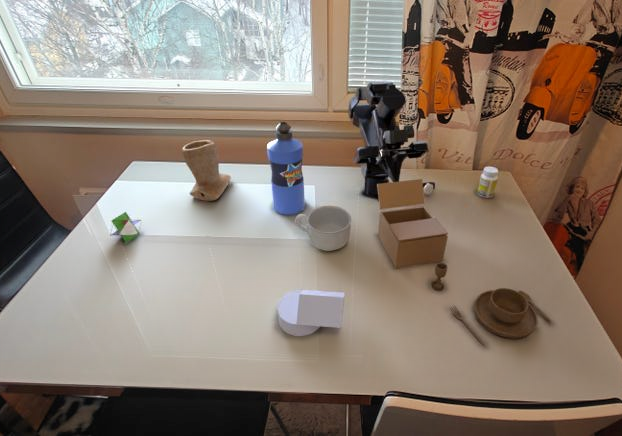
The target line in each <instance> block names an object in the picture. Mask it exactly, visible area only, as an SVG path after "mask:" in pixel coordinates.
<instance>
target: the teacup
mask: <svg viewBox="0 0 622 436" xmlns="http://www.w3.org/2000/svg"><path fill="white" fill-rule="evenodd" d="M301 220H304V221H305V222H306V225H307V226H306V225H304V224H303V223H302V222H301ZM294 221H295V225H296V226H297V228H299V229H300V230H301V231H302V232H304V233H305V234H306V235H308V239H309V241H310V243H311V244H312V245H313V246H314V247H315V248H317V249H319V250H321V251H327V252H333V251H337V250H339V249H341V248H343V247H344V246H345V245H346V244H347V243H348V241H349V239H350V236H351V223H352V216H351V214H350V212H348V211H347V210H346V209H345V208H343V207H340V206H335V205H323V206H319V207H316V208H314V209H312V210H311V211H310V212H309V213H308V215H307V214H306V213H298V214H297V215H296V217H295V220H294Z"/></svg>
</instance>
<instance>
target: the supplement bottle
mask: <svg viewBox="0 0 622 436" xmlns="http://www.w3.org/2000/svg"><path fill="white" fill-rule="evenodd" d="M498 174H499V169H498V168H497V167H495V166H485V167H484V168H483V170H482V173H481V175H480V178H479V182H478V187H477V192H476V193H477V195H478V196H480V197H481V198H485V199H486V198H487V199H488V198H489V199H490V198H492V197H494V194H495V190H496V188H497V183H498V180H499V176H498Z"/></svg>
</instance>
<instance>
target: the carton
mask: <svg viewBox="0 0 622 436" xmlns="http://www.w3.org/2000/svg"><path fill="white" fill-rule="evenodd" d="M448 235H449V232H448V231H447V230H446V229H445V227H444V226H443V225H442V223H441V222H440V220H438V218H437V217H434V216H433V215H432V214H431V213H430V211H429V210H428V209H427V207H426V206H425V205H422V206H414V207H406V208H400V209H390V210H383V211H379V219H378V231H377V237H378V239H379V240H380V242H381V244H382V246H383V248H384V250H385V252H386V253H387V256H388V257H389V259H390V261H391V263H392V265H393V266H394V268H395V269H400V268H407V267H414V266H420V265H426V264H432V263H440V262H443V260H444V255H445V252H446V246H447V243H448V237H449V236H448Z"/></svg>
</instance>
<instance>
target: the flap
mask: <svg viewBox="0 0 622 436" xmlns="http://www.w3.org/2000/svg"><path fill="white" fill-rule="evenodd" d="M423 183H424V182H423V179H422V178H418V179H417V178H416V179H409V180H401V181H400V180H399V182H392V181H390V182H389V183H382V184H377V189H378V197H379V199H378V206H379V210H387V209H395V208H401V207H402V208H403V207H411V206H419V205H425V204H426V201H425V193H424V192H423Z"/></svg>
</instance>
